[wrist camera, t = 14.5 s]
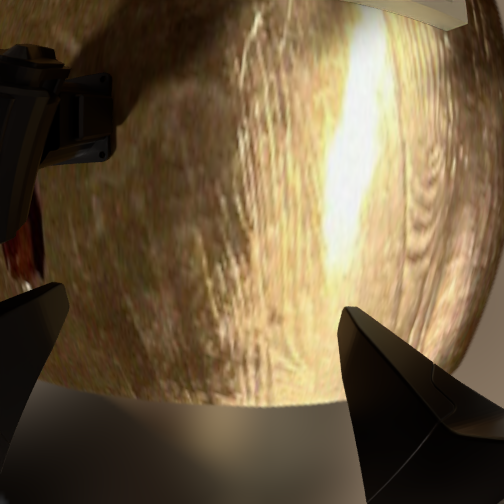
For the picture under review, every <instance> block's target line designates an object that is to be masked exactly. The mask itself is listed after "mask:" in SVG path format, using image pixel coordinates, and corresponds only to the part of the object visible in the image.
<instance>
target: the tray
mask: <svg viewBox="0 0 504 504" xmlns="http://www.w3.org/2000/svg"><path fill="white" fill-rule="evenodd" d="M341 1H347V2H352V3H356V4H361V5H365V6H369V7H373V8H377V9H381V10H385V11H389V12H392V13H396V14H399V15H402V16H405V17H409V18H412V19H415V20H418V21H421V22H423V23H426V24H429V25H432V26H434V27H437V28H440V29H442V30H445V31H449V30H452V29H454V28H457V27H460V26H463V25H466V24H468V19H467V10H466V2H465V0H341Z"/></svg>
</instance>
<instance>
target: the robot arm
mask: <svg viewBox="0 0 504 504" xmlns="http://www.w3.org/2000/svg"><path fill="white" fill-rule="evenodd" d="M70 71H71V68H68V67H65V66H64V63H62V62H59V61H57V60H56V57H55V52H54V49H51V48H48V47H43V46H38V45H32V44H16V45H15V46H13V47H11V48H10V49H5V50H4V49H0V244H2V243H4V242H6V241H8V240H10V239H12V238H14V237H15V236H16V231H17V230H19V229H20V227H21V226H22V225H23V224H24V223H25V222H26V220H27V217H28V213H29V208H30V203H31V198H32V193H33V189H34V185H35V180H36V176H37V172H38V169H41V168H44V167H47V166H52V165H63V164H75V163H90V162H103V161H107V160H108V159H109V158H110V155H111V148H110V134H111V133H112V109H113V99H112V98H111V82H112V77H111V75H110V74H109V73H98V74H93V75H87V76H82V77H78V78H73V79H69V80H65V79H66V78H68V75H69V73H70ZM104 77H106V81H105V82H103V78H104ZM102 152H104V153H105V157H103V156H102ZM68 312H69V301H68V298H67V294H66V290H65V286H64V285H63V284H62V283H57V282H51V283H49V284H46V285H43V286H41V287H38V288H35V289H33V290H30V291H27V292H25V293H22V294H19V295H17V296H14V297H12V298H9V299H7V300H4V301H2V302H0V473H1V470H2V467H3V464H4V461H5V458H6V455H7V452H8V449H9V446H10V444H9V443H11V440H12V438H13V435H14V432H15V430H16V427H17V425H18V422H19V420H20V417H21V415H22V412H23V410H24V408H25V406H26V403H27V401H28V399H29V396H30V394H31V392H32V390H33V388H34V385H35V383H36V381H37V379H38V377H39V375H40V373H41V371H42V369H43V367H44V365H45V363H46V361H47V359H48V357H49V355H50V353H51V351H52V349H53V347H54V345H55V342H56V340H57V337H58V335H59V333H60V330H61V328H62V325H63V323H64V321H65V318H66V316H67V314H68ZM337 337H338V345H339V354H340V363H341V373H342V380H343V385H344V389H345V394H346V398H347V403H348V407H349V412H350V416H351V421H352V426H353V431H354V435H355V441H356V446H357V451H358V456H359V462H360V467H361V473H362V478H363V484H364V489H365V496H366V502H367V504H504V409H503V408H502V407H500V406H498V405H496V404H495V403H493V402H491V401H490V400H488V399H487V398H485V397H484V396H482V395H480V394H478V393H477V392H476V391H474V390H472V389H471V388H469V387H468V386H466V385H465V384H463V383H461V382H460V381H458V380H457V379H455V378H454V377H453V376H451V375H450V374H448V373H447V372H446V371H444V370H443V369H441V368H440V367H439V366H437V365H436V364H433V362H432V361H431V360H429V359H428V358H427V357H425V356H424V355H423V354H421V353H420V352H418V351H417V350H416V349H414V348H413V347H412V346H410V345H409V344H408V343H406V342H405V341H404V340H402V339H401V338H399V337H398V336H397V335H395V334H394V333H393V332H391V331H390V330H389V329H387V328H386V327H384V326H383V325H382V324H380V323H379V322H378V321H376V320H375V319H373V318H372V317H371V316H369V315H368V314H367V313H365V312H364V311H362V310H361V309H360V308H358V307H350V306H346V307H344V308H343V310H342V314H341V318H340V322H339V326H338V332H337Z"/></svg>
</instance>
